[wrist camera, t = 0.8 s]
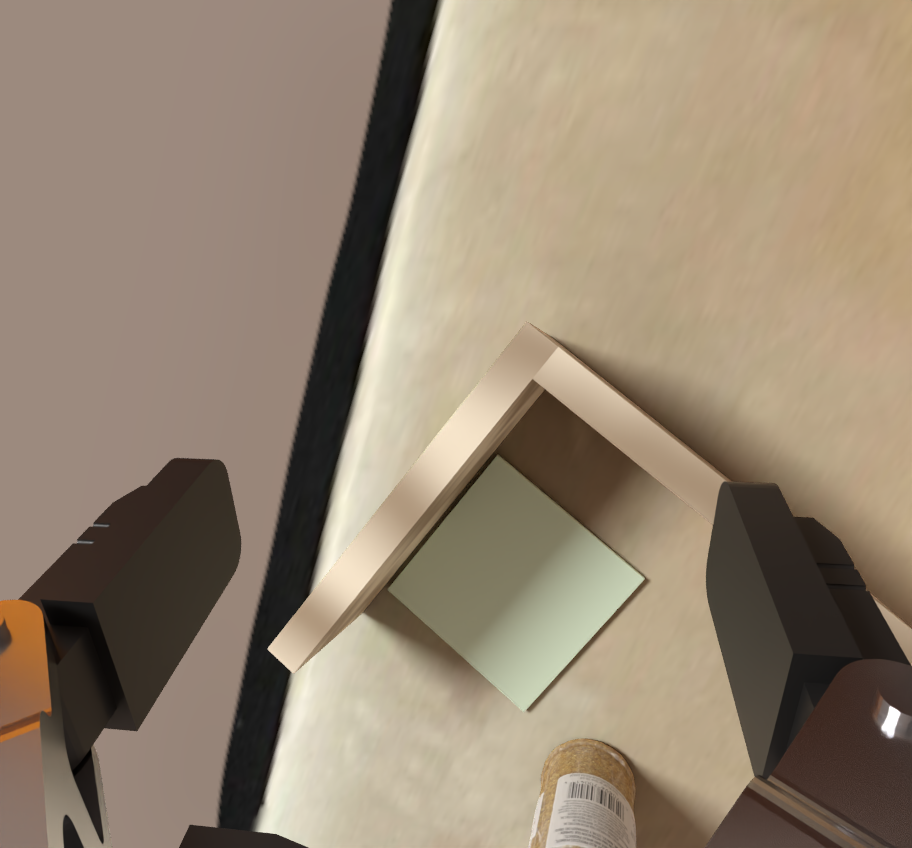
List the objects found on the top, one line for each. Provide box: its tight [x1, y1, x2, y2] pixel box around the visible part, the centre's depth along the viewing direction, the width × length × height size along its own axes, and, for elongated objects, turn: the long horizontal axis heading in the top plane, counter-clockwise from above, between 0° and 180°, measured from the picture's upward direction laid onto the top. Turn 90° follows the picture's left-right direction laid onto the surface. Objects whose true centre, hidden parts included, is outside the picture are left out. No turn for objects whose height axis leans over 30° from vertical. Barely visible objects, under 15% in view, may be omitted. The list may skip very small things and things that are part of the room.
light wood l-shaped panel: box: [268, 322, 912, 674], centre depth 31 cm, size 17×18×8 cm
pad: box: [387, 454, 645, 712], centre depth 35 cm, size 9×9×1 cm
